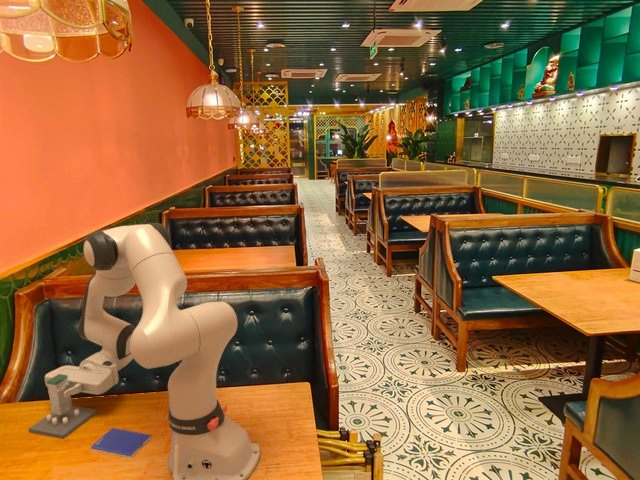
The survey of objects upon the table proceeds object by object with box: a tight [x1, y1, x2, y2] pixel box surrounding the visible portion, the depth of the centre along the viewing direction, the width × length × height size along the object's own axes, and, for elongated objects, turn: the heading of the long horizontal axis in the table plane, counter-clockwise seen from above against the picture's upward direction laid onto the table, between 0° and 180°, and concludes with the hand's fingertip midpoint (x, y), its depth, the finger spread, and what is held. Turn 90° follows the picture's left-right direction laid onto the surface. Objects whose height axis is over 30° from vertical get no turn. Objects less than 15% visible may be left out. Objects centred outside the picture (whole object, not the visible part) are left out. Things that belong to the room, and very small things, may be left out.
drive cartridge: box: [47, 374, 73, 415], centre depth 121 cm, size 3×4×10 cm
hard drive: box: [90, 427, 152, 459], centre depth 113 cm, size 2×8×12 cm
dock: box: [28, 405, 98, 440], centre depth 122 cm, size 12×12×3 cm
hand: (56, 394), depth 120 cm, fingers closed on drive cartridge, 3 cm apart
